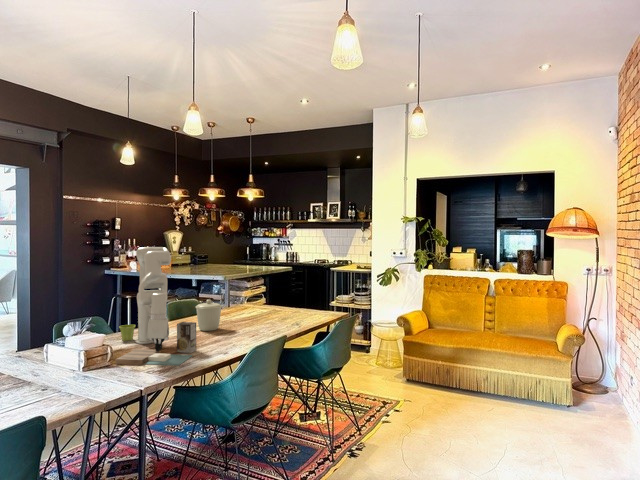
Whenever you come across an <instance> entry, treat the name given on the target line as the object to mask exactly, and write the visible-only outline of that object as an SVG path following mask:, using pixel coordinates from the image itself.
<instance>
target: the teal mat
mask: <svg viewBox="0 0 640 480" xmlns="http://www.w3.org/2000/svg"><path fill="white" fill-rule="evenodd" d="M170 354H171V353H170ZM192 357H193V354H173V353H172V354H171V358H169V359H168V360H166V361H148V362H146V363H144V365H148V366H149V365H150V366H151V365H154V366H155V365H156V366H173V367H174V366H177V367H179V366H180V365H182V364H184V363H185V362H186V361H188V360H189V359H190V358H192Z"/></svg>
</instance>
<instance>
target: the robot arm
mask: <svg viewBox="0 0 640 480" xmlns="http://www.w3.org/2000/svg"><path fill="white" fill-rule="evenodd" d="M135 252H136V253H135V255H136V259H137V262H138V264H139V285H138V292H137V294H136V303H137V312H138V313H137V317H138V318H137V320H138V321H137V323H138V324H137V328H138V329H137V330H138V331H137V333H138V334H137V339H135V343H136V344H140V345H148V344H154V350H156V351H160V352H161V351H162V349H163V344H162V343H164V342H165V341H168V340H170V337H169V336H170V326H169V319H168V318H167V301H168V276H167V274H166V273H164V272H162V271H163V270H162V266H169V265H170V264H171V263H172V255H171V252H170V250H168V248H167V247H166V246H165V247H163V246H144V247H143V246H142V247H138V248H137V249H136V251H135ZM147 289H150V290H147Z"/></svg>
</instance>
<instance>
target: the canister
mask: <svg viewBox="0 0 640 480" xmlns="http://www.w3.org/2000/svg"><path fill="white" fill-rule="evenodd" d="M222 307H223V305H222V304H220V303H219V302H218V303H217V302H212V300H211V299H206V302H203V303H199V304H197V305H196V306H195V309H196V315H197V317H196V318H197V325H198V328H199V330H200V331H204V332H213V331H216V330H218V328H219V327H220V321H221V320H220V319H221V313H222Z"/></svg>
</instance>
